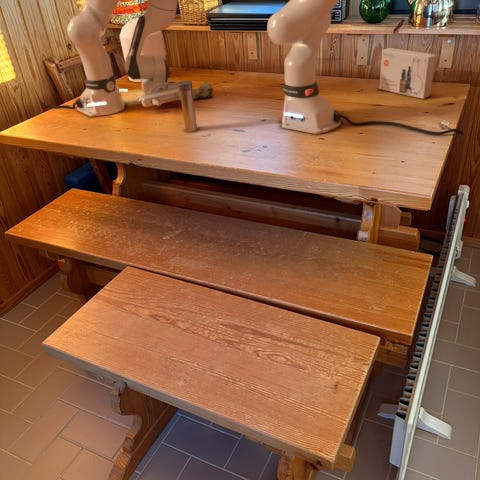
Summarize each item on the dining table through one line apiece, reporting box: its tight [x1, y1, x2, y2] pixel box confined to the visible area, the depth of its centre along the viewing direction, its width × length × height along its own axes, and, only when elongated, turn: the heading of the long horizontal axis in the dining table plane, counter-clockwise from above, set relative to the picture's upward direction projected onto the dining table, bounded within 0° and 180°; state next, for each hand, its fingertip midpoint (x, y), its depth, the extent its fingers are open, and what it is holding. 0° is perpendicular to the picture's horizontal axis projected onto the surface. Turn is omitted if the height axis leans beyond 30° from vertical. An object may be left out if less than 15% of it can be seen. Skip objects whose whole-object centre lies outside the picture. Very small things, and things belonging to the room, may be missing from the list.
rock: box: [192, 81, 214, 100], centre depth 206 cm, size 11×6×10 cm
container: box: [119, 17, 167, 83], centre depth 235 cm, size 21×21×28 cm
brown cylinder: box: [179, 88, 198, 133], centre depth 170 cm, size 4×4×17 cm
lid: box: [177, 79, 193, 91], centre depth 166 cm, size 5×5×2 cm
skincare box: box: [378, 47, 437, 100], centre depth 184 cm, size 21×6×16 cm, turn 40°
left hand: (170, 100), depth 188 cm, fingers open, 8 cm apart
